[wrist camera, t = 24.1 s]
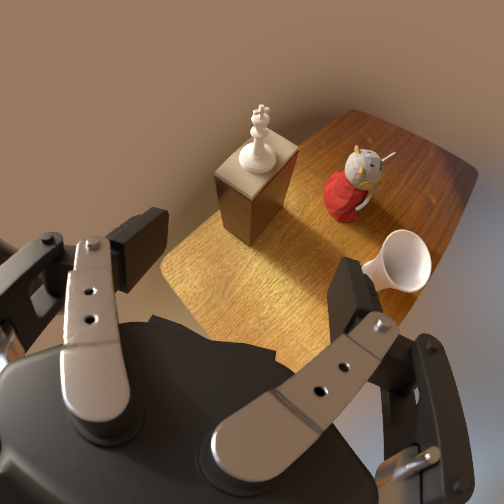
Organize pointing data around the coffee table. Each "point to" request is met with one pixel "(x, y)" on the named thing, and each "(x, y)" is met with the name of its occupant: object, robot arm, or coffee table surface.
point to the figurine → (353, 184)
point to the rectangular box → (254, 189)
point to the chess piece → (258, 145)
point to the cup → (400, 263)
